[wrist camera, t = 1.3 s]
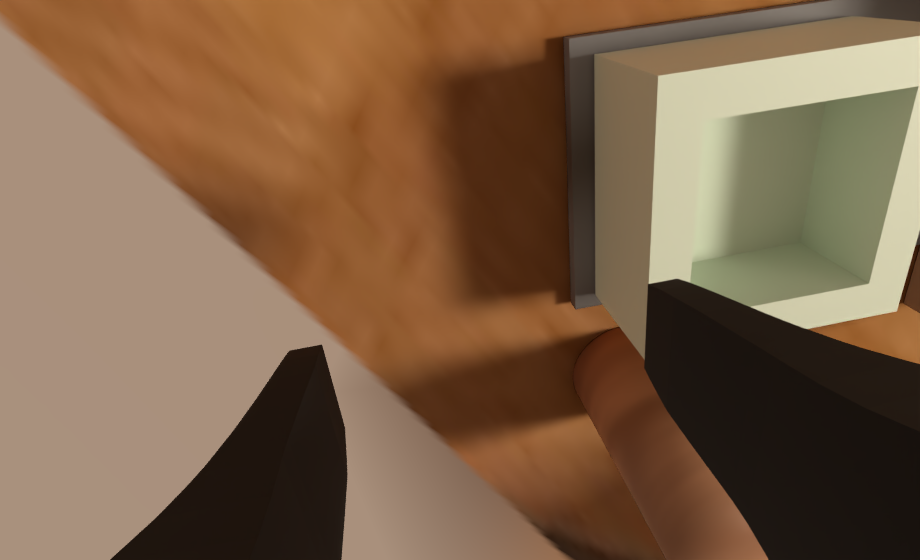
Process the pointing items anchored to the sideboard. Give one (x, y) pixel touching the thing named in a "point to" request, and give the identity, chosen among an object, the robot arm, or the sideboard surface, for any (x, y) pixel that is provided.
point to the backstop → (894, 3)
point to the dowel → (658, 458)
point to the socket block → (761, 170)
